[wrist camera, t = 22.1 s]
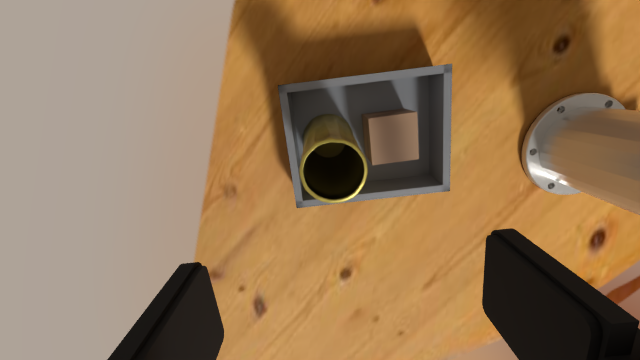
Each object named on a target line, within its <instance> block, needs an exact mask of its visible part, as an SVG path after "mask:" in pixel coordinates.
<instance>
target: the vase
mask: <svg viewBox="0 0 640 360" xmlns="http://www.w3.org/2000/svg"><path fill="white" fill-rule="evenodd" d="M367 173H368V166H367V162H366V158H365V156H364V154H363V153H362V151H361V150H360V148H359V146H358V144H357V142H356V140H355V138H354V136H353V132H352V130H351V127H350V126H349V124H348V123H347V122H346V121H345V120H344V119H343V118H341V117H339V116H337V115H334V114H323V115H319V116H317V117H315V118H314V119H312V120H311V121H310V122H309V123H308V125H307V126H306V128H305V130H304V134H303V153H302V159H301V163H300V169H299V175H300V178H301V181H302V184H303V186H304V188H305V190H306V191H307V192H308V193H309V194H310V195H312V196H313V197H314V198H315V199H317V200H320V201H322V202H326V203H341V202H345V201H347V200H350V199H351V198H353V197H355V196H356V195H357V194H358V193H359V192H360V190H361V189H362V188H363V186H364V184H365V181H366V178H367Z"/></svg>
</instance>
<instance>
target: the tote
mask: <svg viewBox="0 0 640 360" xmlns="http://www.w3.org/2000/svg"><path fill="white" fill-rule="evenodd" d="M278 90H279V97H280V103H281V109H282V116H283V122H284V129H285V135H286V142H287V148H288V155H289V161H290V168H291V174H292V181H293V187H294V194H295V200H296V207H297V208H302V207H311V206H320V205H329V204H338V203H326V202H322V201H320V200H317V199H315V198H314V197H313V196H312V195H310V194H309V193H308V192H307V191H306V190H305V188H304V186H303V184H302V181H301V178H300V175H299V169H300V163H301V159H302V153H303V134H304V130H305V128H306V126H307V125H308V123H309V122H310V121H311V120H312V119H314V118H315V117H317V116H319V115H323V114H334V115H337V116H339V117H341V118H343V119H344V120H345V121H346V122H347V123H348V124H349V126H350V127H351V130H352V132H353V136H354V138H355V140H356V142H357V144H358V146H359V148H360V150H361V151H362V153H363V154H364V156H365V158H366V162H367V166H368V173H367V178H366V181H365V184H364V186H363V188H362V189H361V190H360V192H359V193H358V194H357V195H356V196H355V197H353V198H351V199H350V200H347V201H345V202H341V203H346V202H355V201H364V200H373V199H382V198H391V197H400V196H409V195H418V194H427V193H436V192H445V191H450V154H451V96H452V64H446V65H438V66H430V67H422V68H414V69H406V70H398V71H390V72H382V73H374V74H366V75H358V76H350V77H342V78H334V79H326V80H318V81H310V82H302V83H294V84H286V85H278ZM402 108H405V109H408V110H412V111H416V112H417V119H418V148H419V159H417V160H409V161H402V162H394V163H387V164H379V165H372V164H371V163H370V161H369V160H368V158H367V157H366V155H365V146H364V135H363V124H362V114H366V113H373V112H380V111H387V110H395V109H402Z"/></svg>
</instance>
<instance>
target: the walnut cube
mask: <svg viewBox="0 0 640 360" xmlns="http://www.w3.org/2000/svg"><path fill="white" fill-rule="evenodd" d="M362 124H363V135H364V146H365V155H366V157H367V158H368V160H369V161H370V163H371V164H372V165H379V164H387V163H394V162H402V161H409V160H417V159H419V148H418V119H417V112H416V111H412V110H408V109H405V108H402V109H395V110H387V111H380V112H373V113H366V114H362Z"/></svg>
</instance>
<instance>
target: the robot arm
mask: <svg viewBox="0 0 640 360" xmlns="http://www.w3.org/2000/svg"><path fill="white" fill-rule="evenodd" d="M522 164H523V168H524V171H525V173H526V174H527V176H528V178H529V179H530V180H531V181H532V182H533V183H534V184H535V185H537V186H538V187H539V188H541V189H543V190H545V191H548V192H551V193H554V194H561V195H569V194H577V193H580V192H584V193H586V194H589V195H591V196H593V197H596V198H598V199H601V200H603V201H606V202H608V203H611V204H613V205H616V206H618V207H620V208H623V209H625V210H628V211H630V212H633V213H635V214H638V215H640V111H637V110H626V109H625V108H624V106H623V105H622V104H621V103H620V102H618V101H617V100H616V99H615V98H612V97H610V96H608V95H604V94H599V93H579V94H574V95H570V96H567V97H564V98H562V99H560V100H558V101H556V102H554V103H553V104H552V105H550V106H549V107H547V108H546V109H545V110H544V111H543V112H542V113H541V114H540V115H539V116H538V117H537V118H536V119H535V121H534V122H533V123H532V125H531V126H530V128H529V130H528V132H527V134H526V136H525V139H524V142H523V147H522ZM482 305H483V309H484V312H485V314H486V315H487V317H488V318H489V319H490V321H491V322H492V323H493V325H494V326H495V328H496V329H497V330H498V332H499V333H500V334H501V336H502V337H503V339H504V340H505V341H506V343H507V344H508V345H509V347H510V348H511V350H512V351H513V352H514V354H515V355H516V356H517V358H518V359H519V360H640V329H639V328H638V325H639V321H638V320H637V319H636V318H634V317H633V316H631V315H630V314H629V313H627V312H626V311H625V310H623V309H622V308H621V307H619V306H618V305H617V304H615V303H614V302H613V301H611V300H610V299H609V298H607V297H606V296H604V295H603V294H602V293H600V292H599V291H598V290H596V289H595V288H594V287H592V286H591V285H590V284H588V283H587V282H585V281H584V280H583V279H581V278H580V277H579V276H577V275H576V274H575V273H573V272H572V271H571V270H569V269H568V268H566V267H565V266H564V265H562V264H561V263H560V262H558V261H557V260H556V259H554V258H553V257H552V256H550V255H549V254H547V253H546V252H545V251H543V250H542V249H541V248H539V247H538V246H537V245H535V244H534V243H532V242H531V241H530V240H528V239H527V238H526V237H524V236H523V235H522V234H520V233H519V232H518V231H516V230H515V229H501V230H494V231H492V233H491V235H488V236H487V238H486V250H485V266H484V283H483V299H482ZM223 339H224V328H223V324H222V321H221V317H220V313H219V310H218V306H217V302H216V299H215V295H214V292H213V288H212V284H211V281H210V277H209V273H208V270H207V267H206V266H202V265H201V263H199V262H195V263H186V264H181V265H180V266H179V267H178V268H177V269H176V271H175V272H174V273H173V275H172V276H171V277H170V279H169V280H168V281H167V282H166V284H165V285H164V286H163V288H162V289H161V290H160V292H159V293H158V294H157V296H156V297H155V298H154V299H153V301H152V302H151V303H150V305H149V306H148V307H147V309H146V310H145V311H144V313H143V314H142V315H141V317H140V318H139V319H138V320H137V322H136V323H135V324H134V326H133V327H132V328H131V330H130V331H129V332H128V334H127V335H126V336H125V337H124V339H123V340H122V341H121V343H120V344H119V345H118V347H117V348H116V349H115V350H114V352H113V353H112V354H111V356H110V357H109V358H108V360H216V358H217V356H218V353H219V350H220V348H221V345H222V342H223Z"/></svg>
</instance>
